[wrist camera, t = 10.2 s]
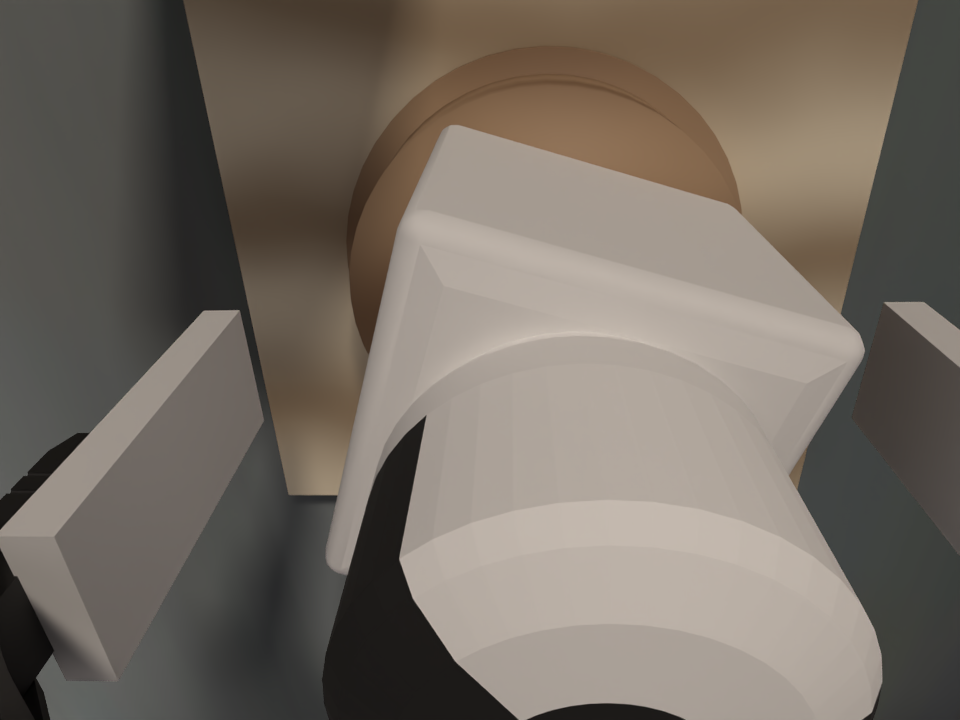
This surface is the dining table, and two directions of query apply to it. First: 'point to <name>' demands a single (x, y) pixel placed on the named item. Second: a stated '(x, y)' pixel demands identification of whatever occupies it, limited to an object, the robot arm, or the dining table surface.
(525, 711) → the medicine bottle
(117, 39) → the dining table surface
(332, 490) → the base board
